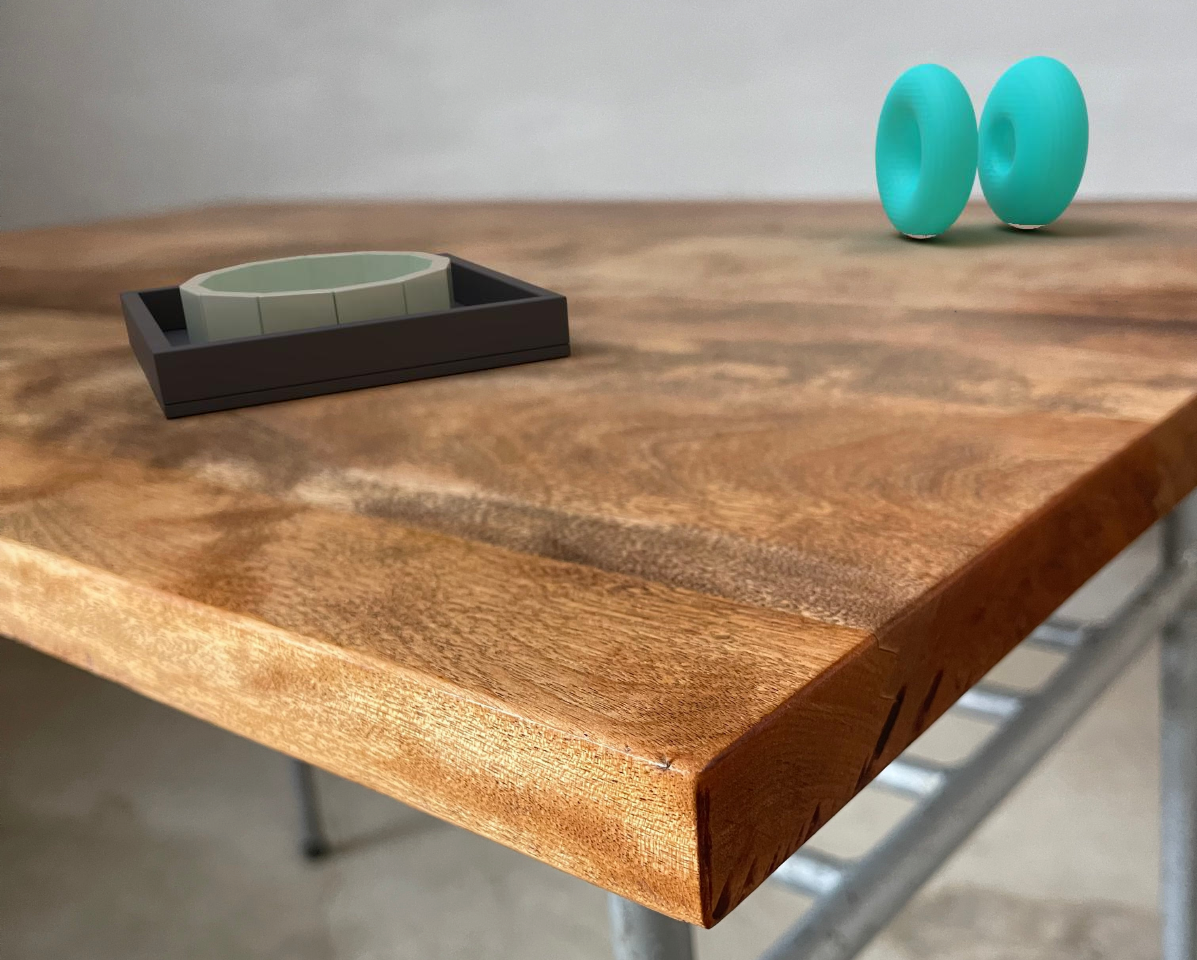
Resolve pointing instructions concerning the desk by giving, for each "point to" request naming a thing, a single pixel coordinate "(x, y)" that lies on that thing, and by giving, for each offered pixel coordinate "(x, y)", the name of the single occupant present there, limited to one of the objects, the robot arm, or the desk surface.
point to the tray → (345, 345)
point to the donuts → (981, 146)
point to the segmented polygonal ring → (314, 292)
